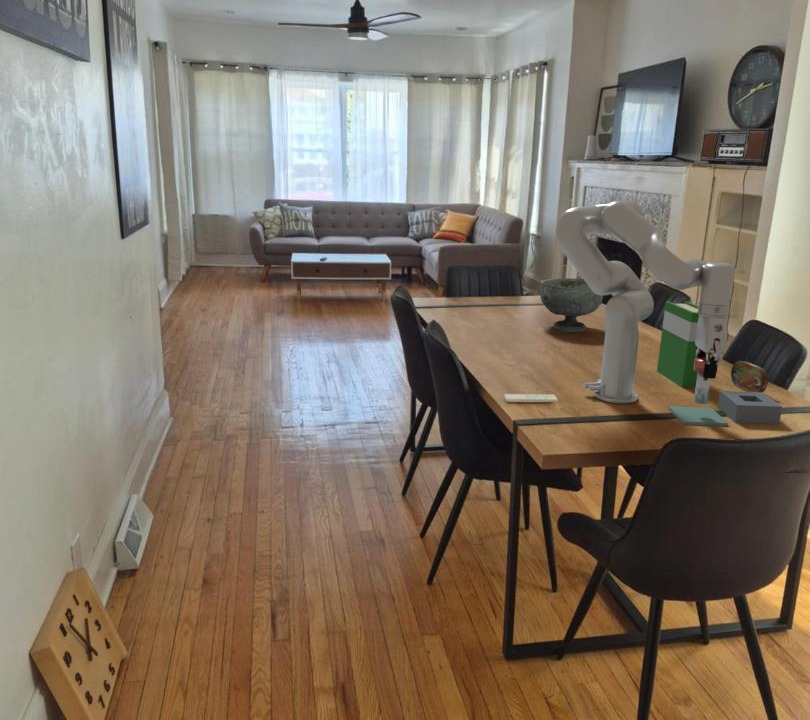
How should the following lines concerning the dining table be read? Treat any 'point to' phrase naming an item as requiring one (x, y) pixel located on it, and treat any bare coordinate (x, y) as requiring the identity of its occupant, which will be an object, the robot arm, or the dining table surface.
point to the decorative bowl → (569, 301)
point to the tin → (749, 377)
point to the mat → (698, 416)
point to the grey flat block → (749, 407)
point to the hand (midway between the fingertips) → (704, 373)
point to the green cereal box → (679, 344)
